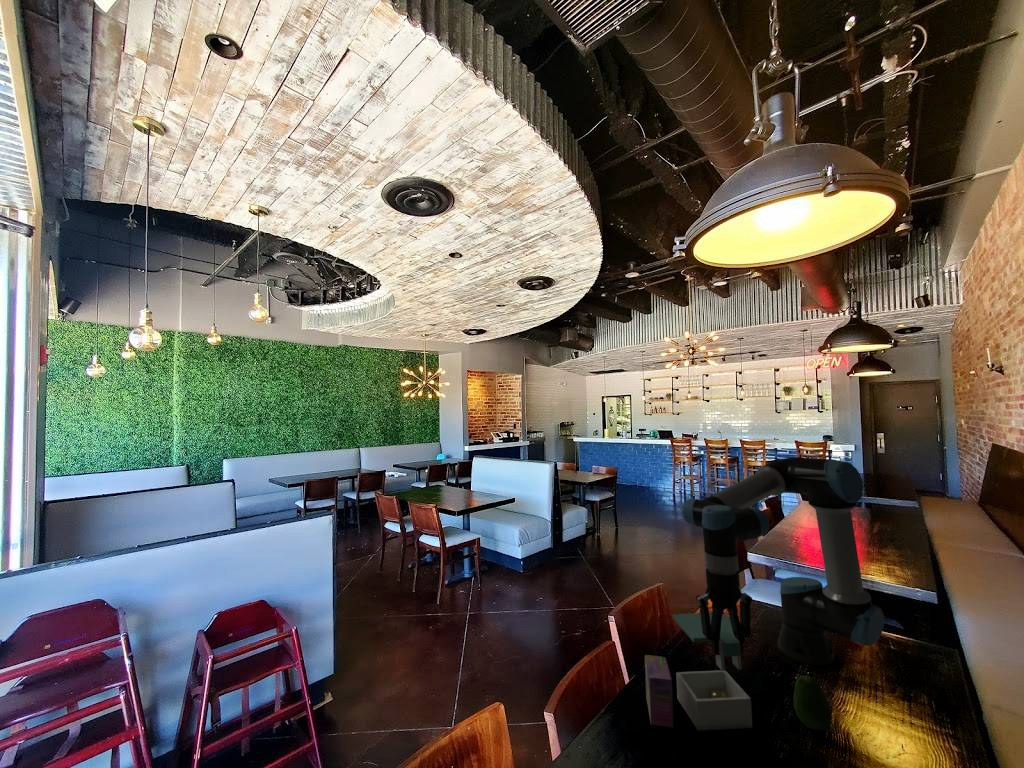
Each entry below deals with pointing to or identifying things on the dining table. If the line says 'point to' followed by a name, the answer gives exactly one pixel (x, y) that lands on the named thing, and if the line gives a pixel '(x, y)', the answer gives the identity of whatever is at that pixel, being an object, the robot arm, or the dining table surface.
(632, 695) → the dining table surface
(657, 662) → the box
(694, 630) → the lid
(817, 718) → the avocado
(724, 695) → the brass roller
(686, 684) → the tub
